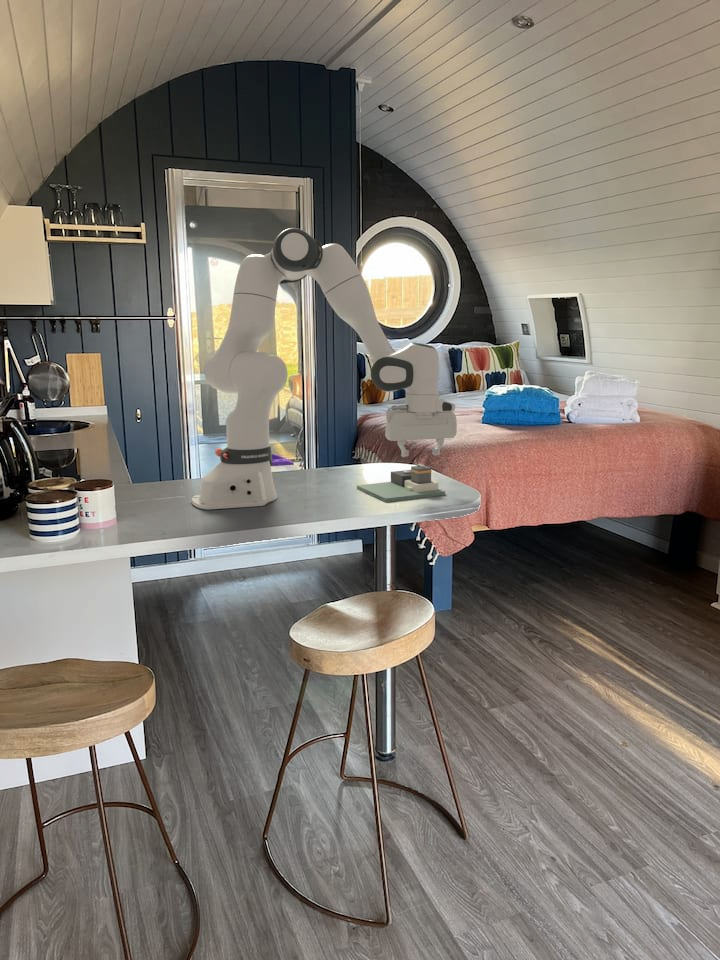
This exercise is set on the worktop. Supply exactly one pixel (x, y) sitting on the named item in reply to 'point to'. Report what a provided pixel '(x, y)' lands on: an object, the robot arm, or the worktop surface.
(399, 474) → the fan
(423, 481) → the grey upright block
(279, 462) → the purple shoe
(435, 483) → the cream shallow tray
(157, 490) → the worktop surface
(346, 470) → the worktop surface
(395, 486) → the board
